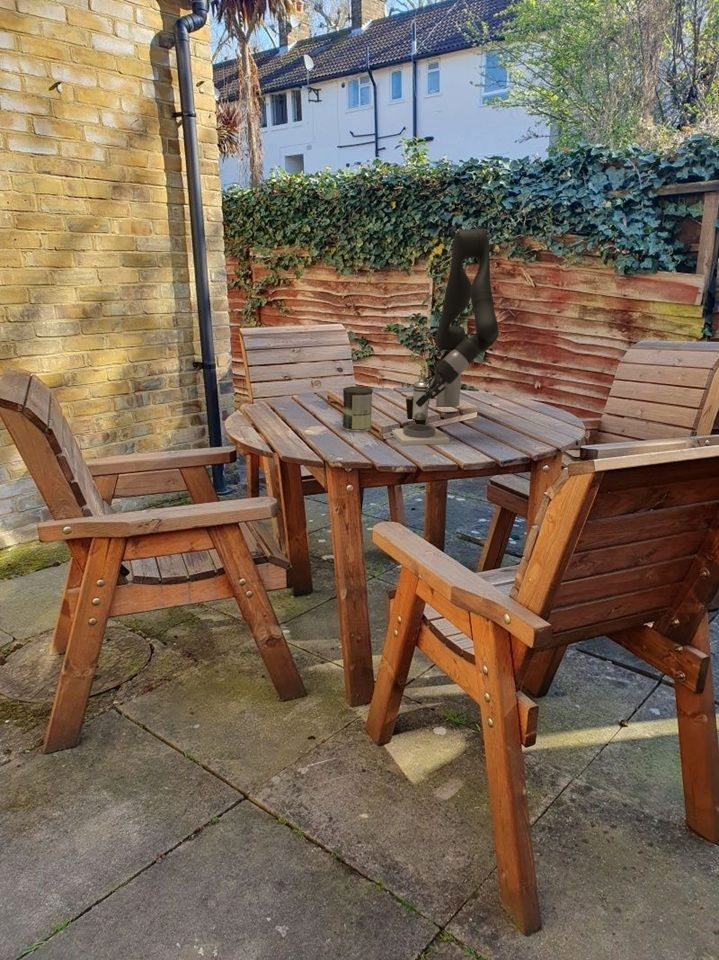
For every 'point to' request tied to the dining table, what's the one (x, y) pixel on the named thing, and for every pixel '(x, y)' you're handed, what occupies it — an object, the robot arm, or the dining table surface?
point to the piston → (419, 390)
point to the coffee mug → (410, 410)
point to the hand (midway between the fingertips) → (415, 403)
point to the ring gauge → (419, 435)
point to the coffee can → (357, 409)
